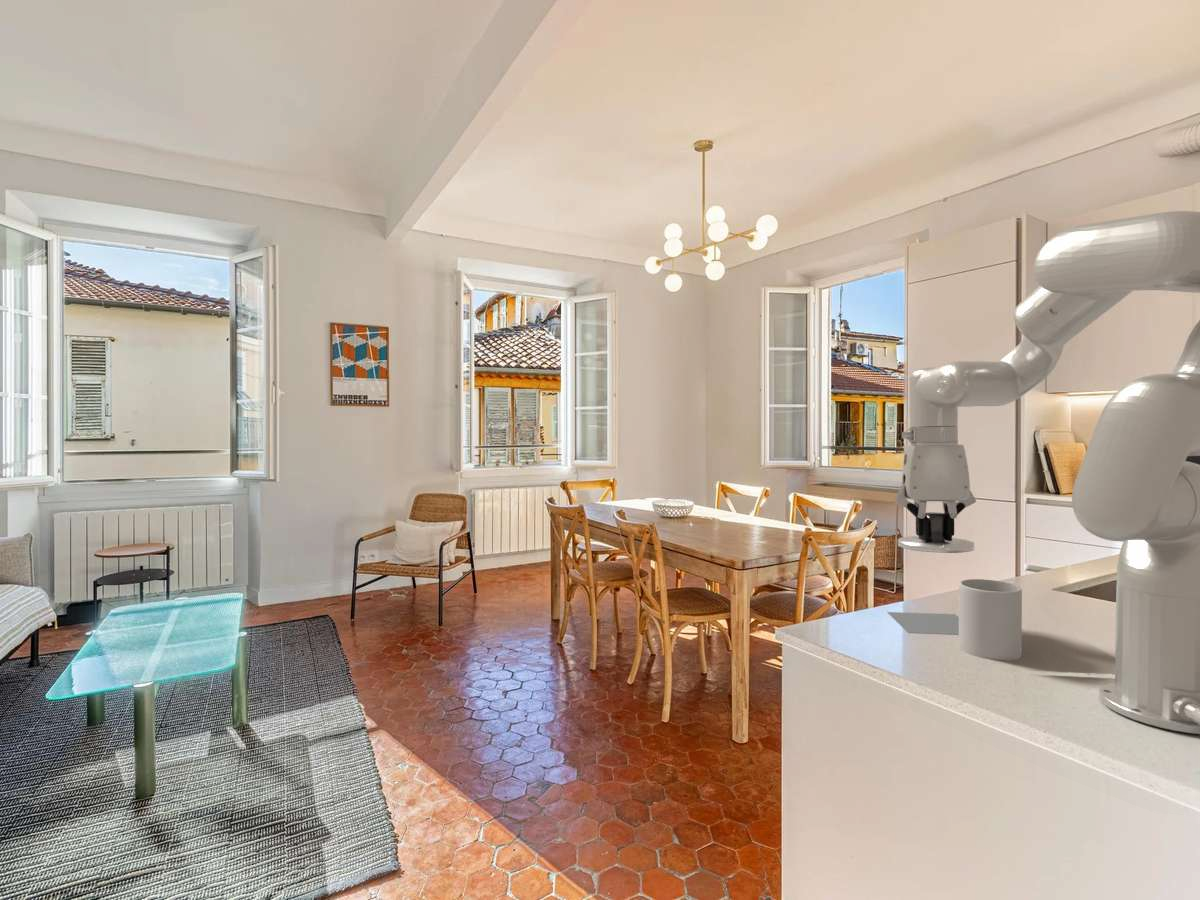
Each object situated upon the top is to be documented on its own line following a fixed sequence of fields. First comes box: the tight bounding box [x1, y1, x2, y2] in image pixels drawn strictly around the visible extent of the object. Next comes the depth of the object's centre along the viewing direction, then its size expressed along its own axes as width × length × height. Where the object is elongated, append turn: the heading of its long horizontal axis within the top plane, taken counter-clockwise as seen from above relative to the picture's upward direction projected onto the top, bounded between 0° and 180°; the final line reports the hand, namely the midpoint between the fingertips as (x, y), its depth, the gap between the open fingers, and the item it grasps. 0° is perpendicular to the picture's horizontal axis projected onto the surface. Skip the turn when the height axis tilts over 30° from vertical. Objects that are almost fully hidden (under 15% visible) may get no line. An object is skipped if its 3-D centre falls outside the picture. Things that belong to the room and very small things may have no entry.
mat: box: [887, 611, 959, 636], centre depth 112 cm, size 12×12×1 cm
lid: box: [897, 511, 975, 554], centre depth 111 cm, size 12×12×6 cm
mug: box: [957, 578, 1023, 661], centre depth 99 cm, size 12×8×11 cm
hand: (935, 538), depth 111 cm, fingers closed on lid, 3 cm apart
